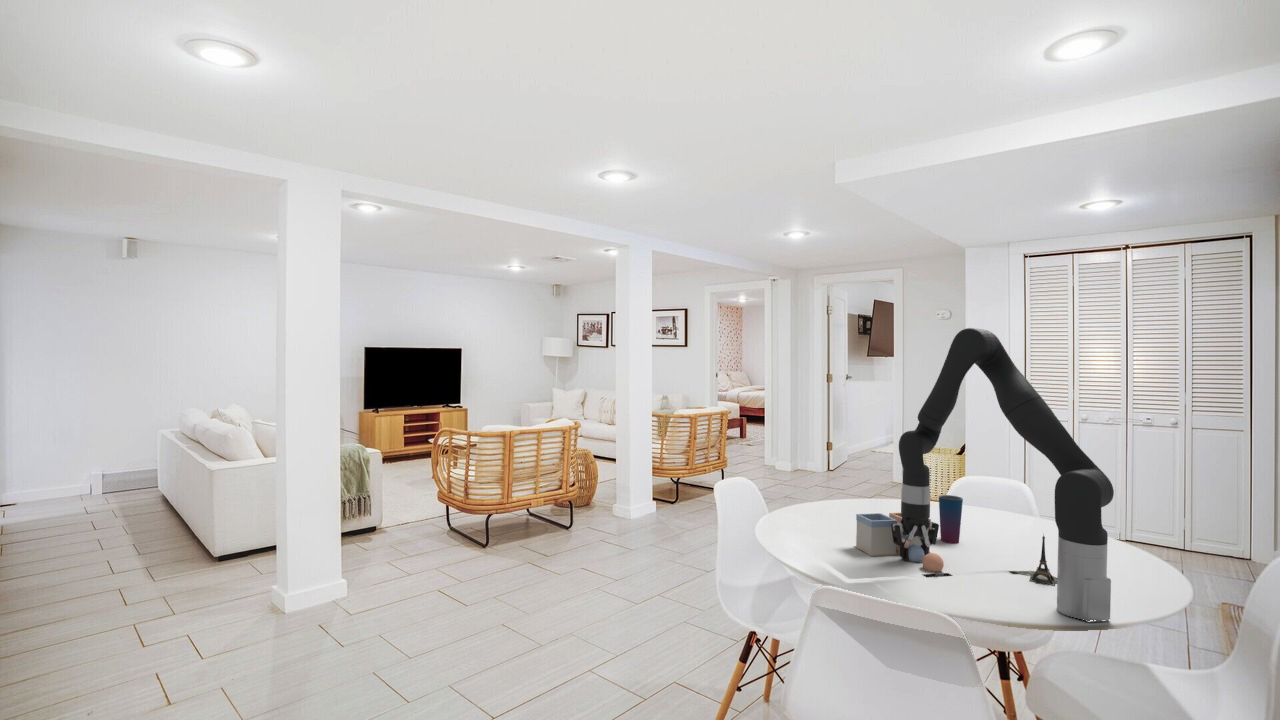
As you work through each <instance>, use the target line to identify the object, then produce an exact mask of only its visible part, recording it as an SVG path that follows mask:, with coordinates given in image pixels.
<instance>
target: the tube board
mask: <svg viewBox="0 0 1280 720" xmlns="http://www.w3.org/2000/svg"><path fill="white" fill-rule="evenodd" d="M852 547H854V548H855V549H856V550H857V551H860V552H862V553H863V554H865V555H867V556H869V557H871V558H879V557H880V558H881V557H900V551H898V550H896V555H876V556H871V555H869V554H867V553H865V552H864V551H862V550H860V549H858V548H857V547H856V545H853V546H852Z"/></svg>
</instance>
